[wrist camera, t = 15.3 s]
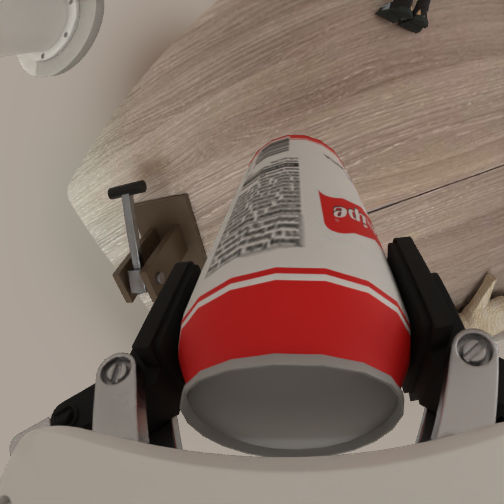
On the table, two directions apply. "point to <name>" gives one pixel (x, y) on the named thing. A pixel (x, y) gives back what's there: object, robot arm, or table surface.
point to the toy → (485, 309)
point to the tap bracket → (162, 243)
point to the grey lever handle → (132, 230)
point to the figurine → (406, 14)
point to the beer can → (295, 315)
